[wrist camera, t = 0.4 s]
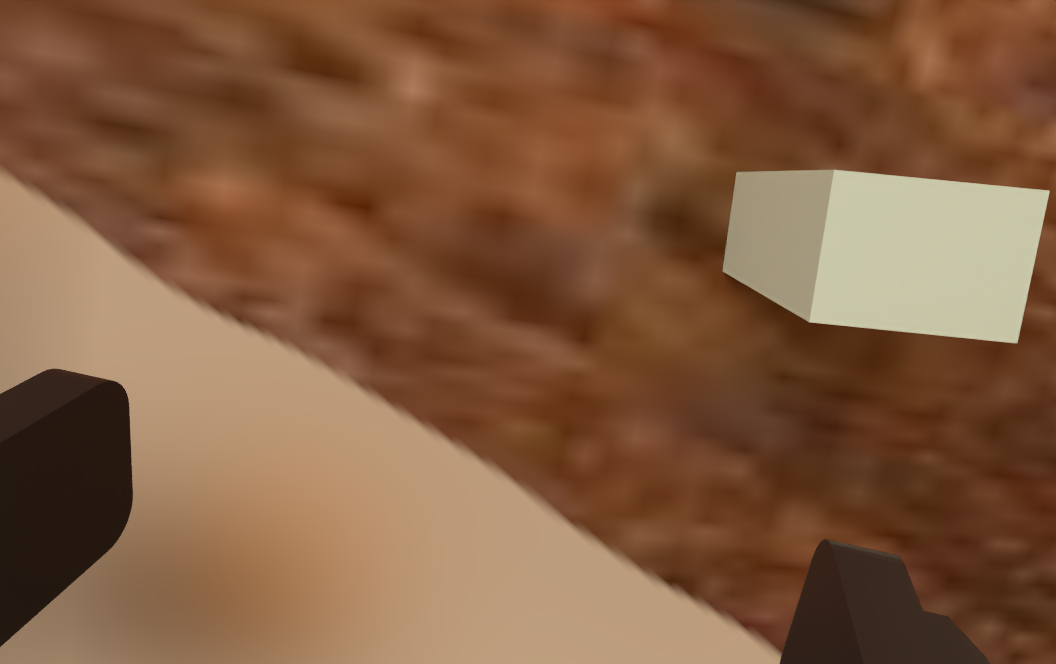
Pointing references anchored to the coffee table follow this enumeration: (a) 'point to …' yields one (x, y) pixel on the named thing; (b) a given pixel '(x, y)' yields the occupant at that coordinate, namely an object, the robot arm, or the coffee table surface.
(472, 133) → the coffee table surface
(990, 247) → the tea box
